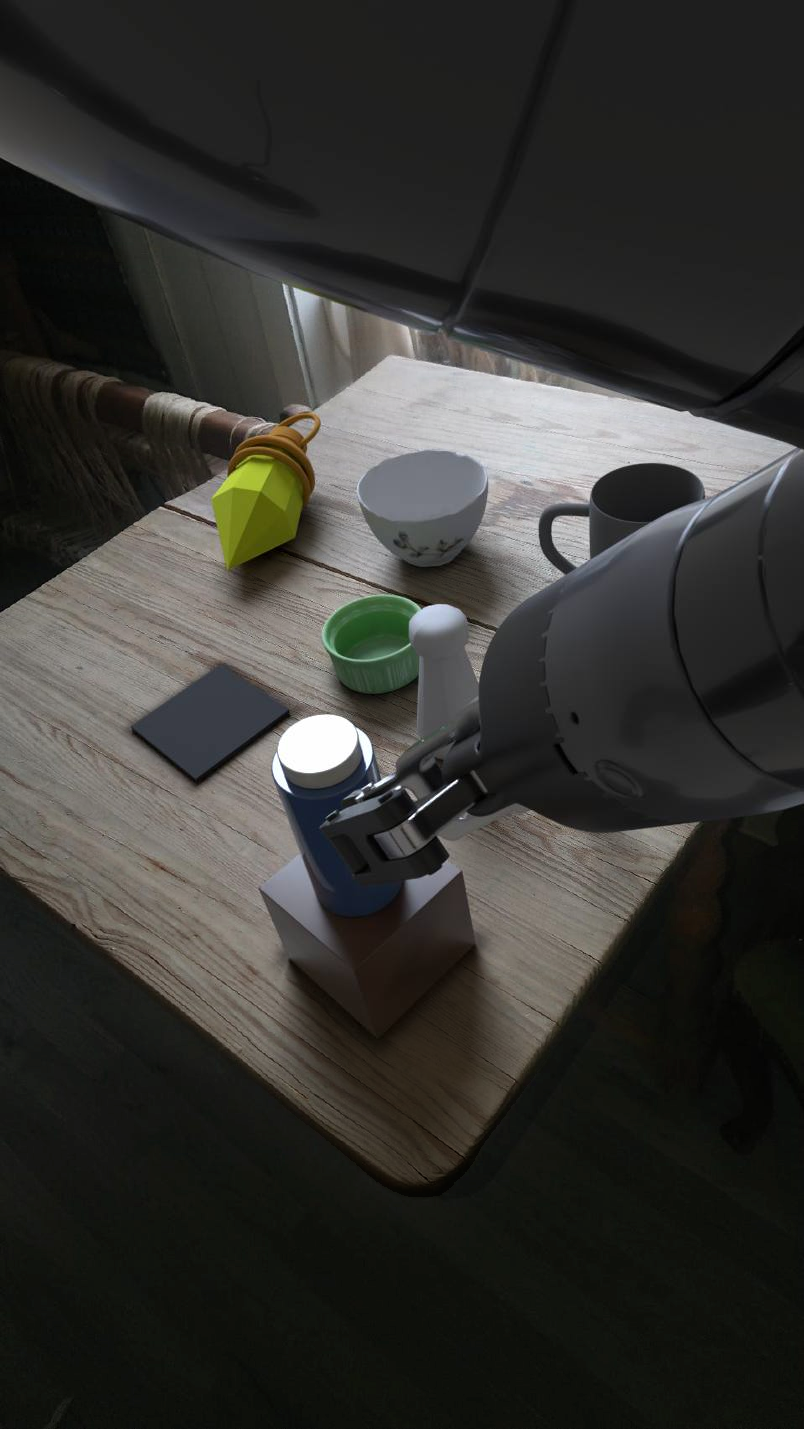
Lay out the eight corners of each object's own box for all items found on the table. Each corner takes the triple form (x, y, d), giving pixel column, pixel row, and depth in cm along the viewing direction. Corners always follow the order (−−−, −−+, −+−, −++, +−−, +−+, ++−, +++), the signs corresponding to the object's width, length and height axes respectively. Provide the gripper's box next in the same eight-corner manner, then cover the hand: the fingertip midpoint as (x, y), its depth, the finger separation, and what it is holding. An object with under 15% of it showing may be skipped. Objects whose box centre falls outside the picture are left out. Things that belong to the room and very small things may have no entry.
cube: (378, 1039, 60) (354, 971, 55) (287, 957, 66) (257, 887, 60) (476, 943, 64) (462, 870, 59) (383, 872, 70) (363, 799, 64)
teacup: (483, 590, 91) (475, 518, 86) (356, 588, 95) (340, 518, 89) (507, 501, 101) (501, 431, 96) (392, 502, 105) (379, 435, 99)
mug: (705, 583, 87) (714, 463, 79) (690, 649, 81) (697, 528, 73) (555, 570, 92) (548, 456, 84) (530, 632, 86) (521, 516, 78)
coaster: (197, 782, 79) (195, 779, 79) (131, 729, 85) (130, 726, 85) (290, 712, 83) (289, 709, 83) (222, 667, 89) (220, 663, 89)
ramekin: (440, 633, 88) (434, 594, 85) (420, 702, 82) (413, 663, 79) (346, 630, 90) (336, 593, 87) (319, 698, 84) (308, 659, 81)
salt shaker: (422, 721, 80) (397, 595, 71) (492, 715, 79) (476, 587, 70) (420, 774, 76) (394, 647, 67) (494, 768, 75) (477, 639, 66)
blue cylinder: (356, 934, 57) (311, 800, 48) (295, 884, 60) (244, 750, 52) (423, 873, 59) (391, 735, 51) (361, 828, 62) (322, 691, 54)
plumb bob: (288, 596, 96) (352, 439, 111) (241, 528, 90) (316, 371, 105) (214, 608, 100) (286, 455, 115) (165, 543, 94) (247, 390, 109)
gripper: (769, 435, 28) (512, 599, 43) (387, 700, 22) (246, 782, 37) (911, 655, 28) (606, 742, 43) (569, 970, 22) (357, 943, 37)
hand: (440, 760), depth 40 cm, fingers open, 8 cm apart
